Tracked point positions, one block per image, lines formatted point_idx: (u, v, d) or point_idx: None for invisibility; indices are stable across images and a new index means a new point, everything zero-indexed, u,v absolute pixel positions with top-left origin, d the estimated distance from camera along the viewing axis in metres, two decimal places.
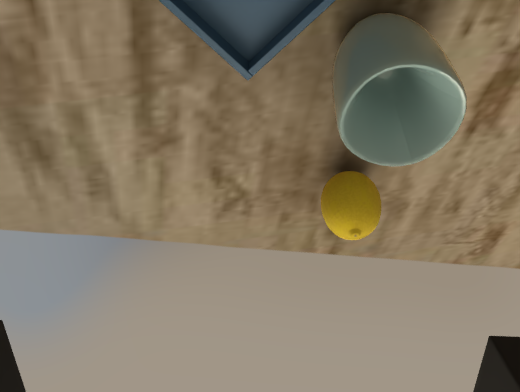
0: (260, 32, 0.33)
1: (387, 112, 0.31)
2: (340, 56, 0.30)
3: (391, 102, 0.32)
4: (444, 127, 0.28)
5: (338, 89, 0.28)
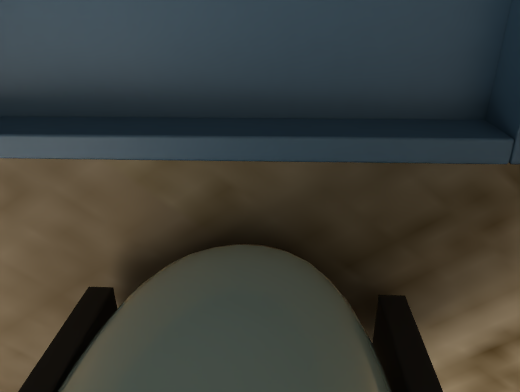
0: (14, 74, 0.11)
1: None
2: (152, 320, 0.08)
3: None
4: None
5: None
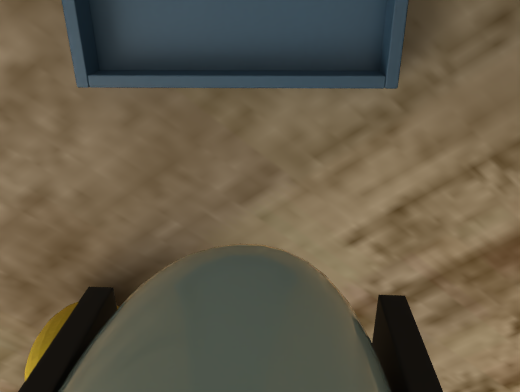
0: (144, 48, 0.21)
1: None
2: (152, 320, 0.08)
3: None
4: None
5: None
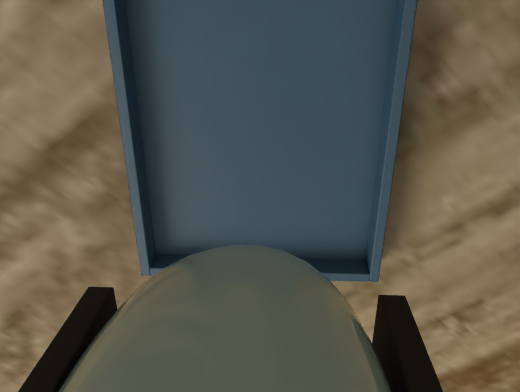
0: (190, 242, 0.29)
1: None
2: (152, 321, 0.08)
3: None
4: None
5: None
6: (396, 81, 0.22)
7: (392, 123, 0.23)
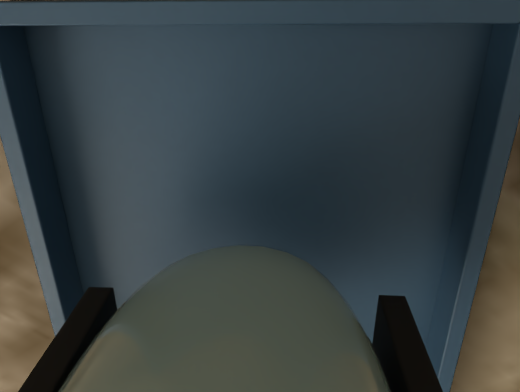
0: None
1: None
2: (151, 321, 0.08)
3: None
4: None
5: None
6: (481, 204, 0.13)
7: (469, 265, 0.14)
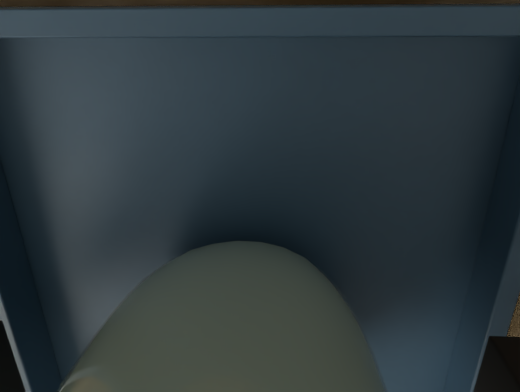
0: None
1: None
2: (153, 312, 0.09)
3: None
4: None
5: None
6: (513, 249, 0.11)
7: (497, 317, 0.12)
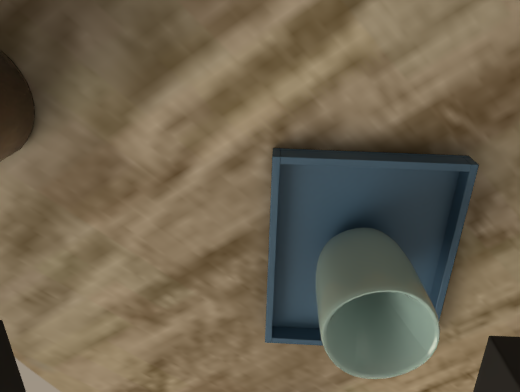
0: (298, 318, 0.40)
1: (350, 313, 0.32)
2: (352, 245, 0.32)
3: (354, 307, 0.33)
4: (395, 362, 0.30)
5: (347, 273, 0.29)
6: (455, 232, 0.34)
7: (450, 256, 0.35)
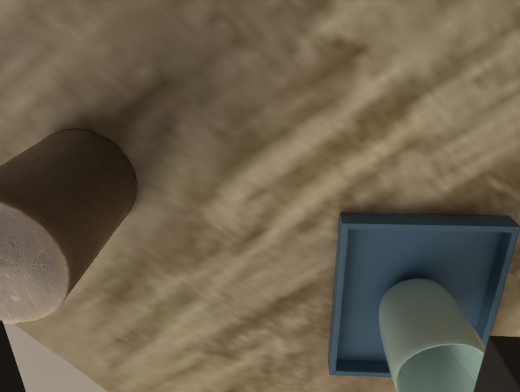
0: (357, 353, 0.46)
1: (412, 355, 0.38)
2: (414, 298, 0.37)
3: None
4: None
5: (414, 326, 0.34)
6: (499, 281, 0.39)
7: (495, 301, 0.40)
